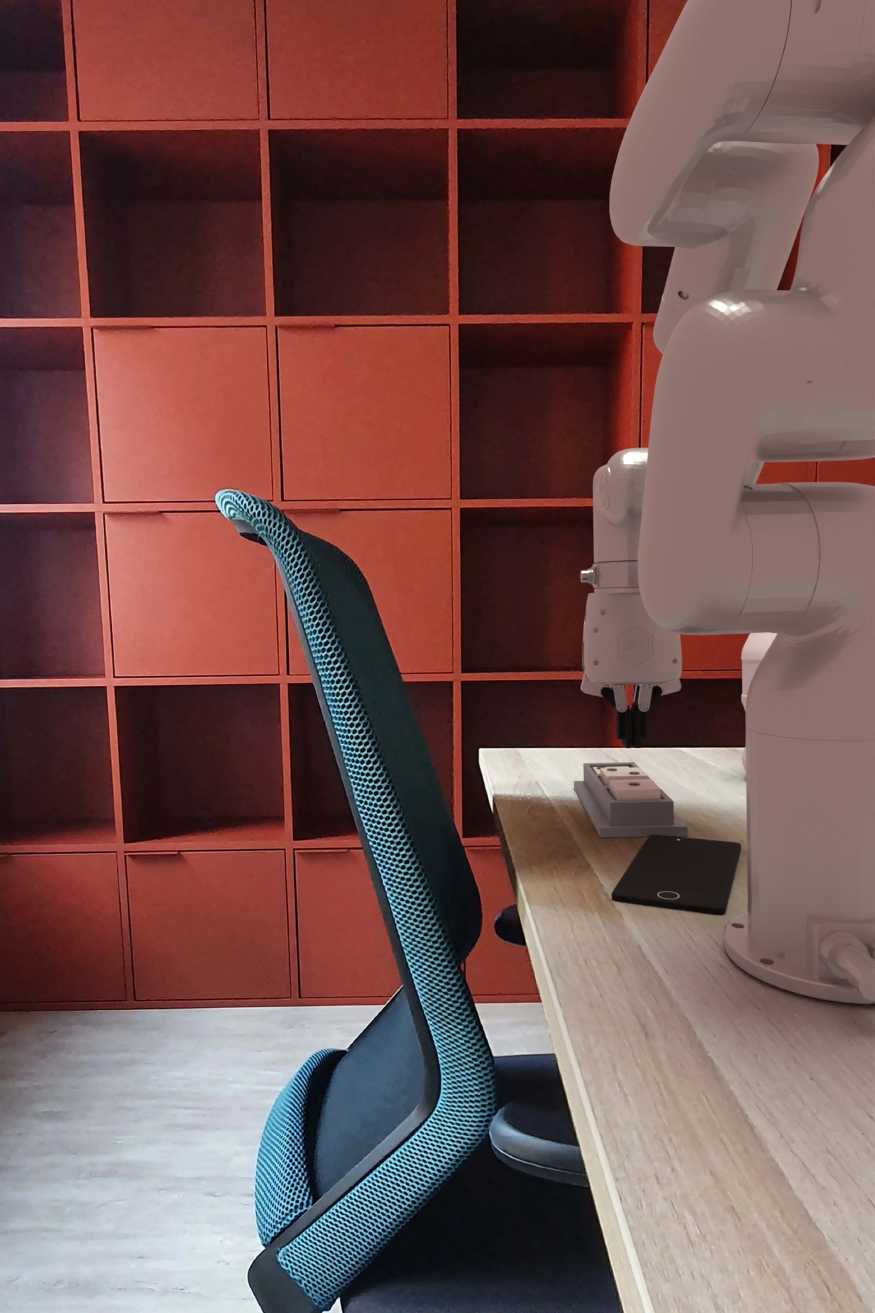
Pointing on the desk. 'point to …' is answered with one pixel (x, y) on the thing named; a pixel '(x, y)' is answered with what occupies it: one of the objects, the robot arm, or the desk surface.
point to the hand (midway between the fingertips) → (630, 745)
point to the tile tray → (626, 809)
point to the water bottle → (753, 663)
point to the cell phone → (680, 874)
